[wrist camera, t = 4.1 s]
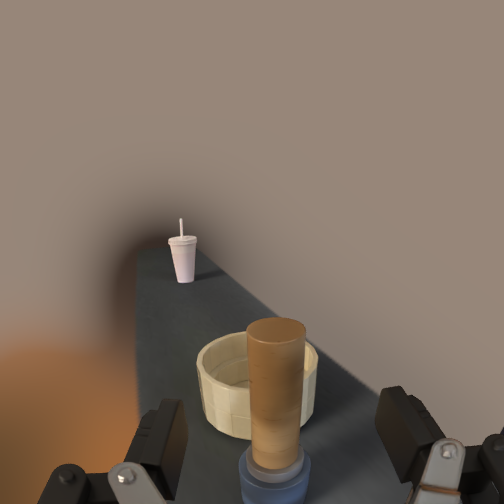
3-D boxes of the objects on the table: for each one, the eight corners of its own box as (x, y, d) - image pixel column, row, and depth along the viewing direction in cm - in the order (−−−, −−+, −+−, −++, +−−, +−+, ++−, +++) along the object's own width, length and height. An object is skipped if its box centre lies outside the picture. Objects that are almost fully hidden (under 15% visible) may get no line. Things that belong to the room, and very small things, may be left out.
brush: (310, 475, 19) (327, 312, 16) (300, 521, 15) (321, 357, 12) (251, 467, 20) (243, 307, 17) (233, 511, 16) (212, 346, 13)
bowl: (318, 381, 32) (321, 333, 30) (305, 451, 22) (311, 399, 20) (225, 372, 34) (221, 326, 33) (186, 431, 24) (176, 379, 23)
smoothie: (197, 275, 75) (193, 216, 72) (202, 282, 69) (198, 218, 66) (170, 278, 72) (165, 218, 69) (173, 286, 67) (168, 221, 64)
